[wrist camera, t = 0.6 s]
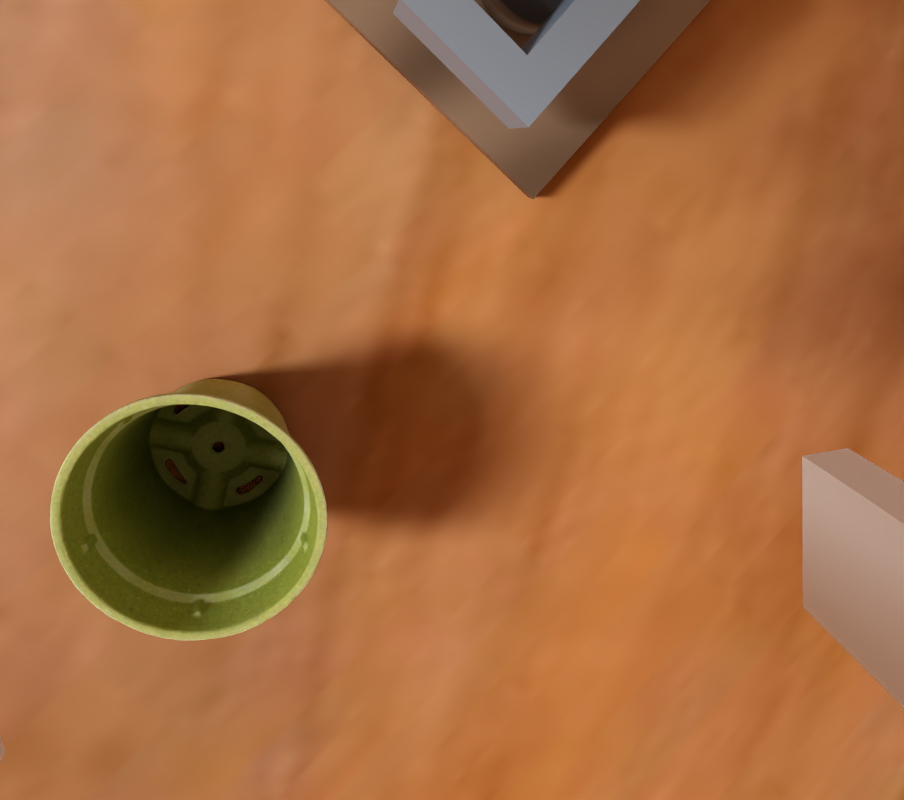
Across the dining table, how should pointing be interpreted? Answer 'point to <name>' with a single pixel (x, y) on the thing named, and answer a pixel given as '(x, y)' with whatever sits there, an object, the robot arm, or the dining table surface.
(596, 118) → the lever on base
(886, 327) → the dining table surface
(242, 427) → the plant pot
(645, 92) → the dining table surface
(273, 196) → the dining table surface
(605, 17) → the grey slotted block
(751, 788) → the dining table surface
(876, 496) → the robot arm
